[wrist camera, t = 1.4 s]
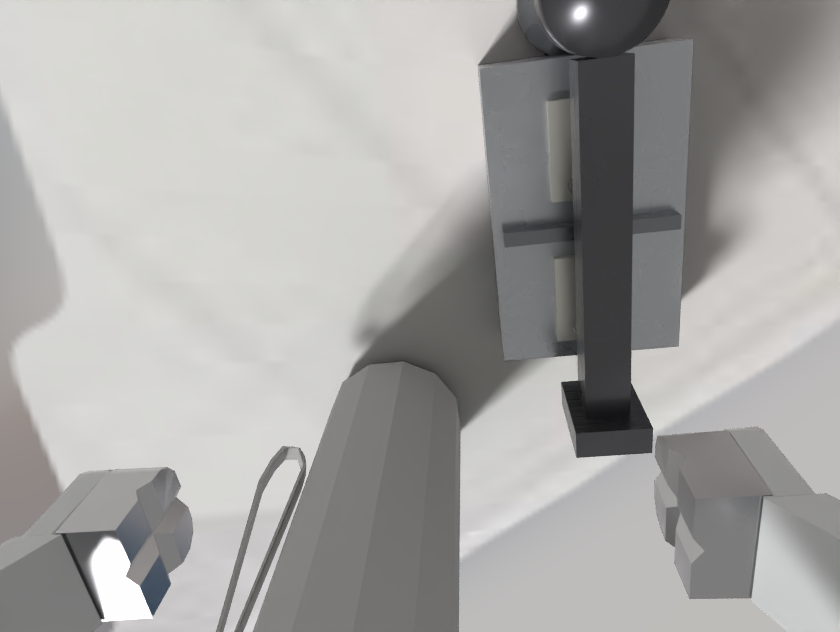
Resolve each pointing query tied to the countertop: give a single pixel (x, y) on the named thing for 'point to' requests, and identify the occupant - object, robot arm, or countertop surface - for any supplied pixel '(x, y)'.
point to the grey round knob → (535, 28)
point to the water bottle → (368, 515)
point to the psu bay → (553, 197)
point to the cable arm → (602, 215)
